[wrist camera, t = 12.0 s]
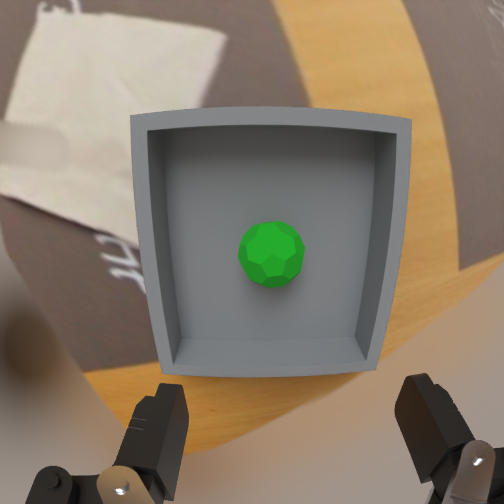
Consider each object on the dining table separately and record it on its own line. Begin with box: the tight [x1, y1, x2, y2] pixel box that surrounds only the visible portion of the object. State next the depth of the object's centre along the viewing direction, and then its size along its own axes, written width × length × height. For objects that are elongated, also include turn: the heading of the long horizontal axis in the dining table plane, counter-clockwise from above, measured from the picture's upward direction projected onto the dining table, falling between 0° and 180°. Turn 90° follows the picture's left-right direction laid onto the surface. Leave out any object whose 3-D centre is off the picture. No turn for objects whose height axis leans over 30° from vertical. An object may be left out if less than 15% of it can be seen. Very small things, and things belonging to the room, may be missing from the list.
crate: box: [130, 107, 412, 377], centre depth 24 cm, size 19×21×5 cm
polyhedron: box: [238, 221, 305, 288], centre depth 23 cm, size 5×5×5 cm
